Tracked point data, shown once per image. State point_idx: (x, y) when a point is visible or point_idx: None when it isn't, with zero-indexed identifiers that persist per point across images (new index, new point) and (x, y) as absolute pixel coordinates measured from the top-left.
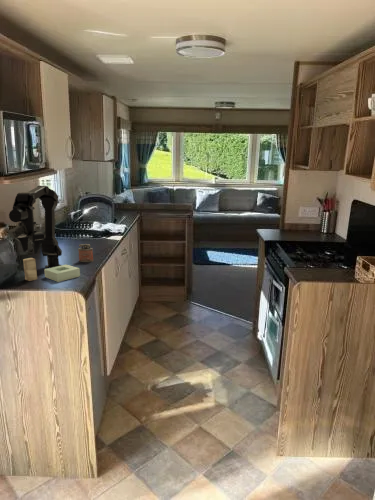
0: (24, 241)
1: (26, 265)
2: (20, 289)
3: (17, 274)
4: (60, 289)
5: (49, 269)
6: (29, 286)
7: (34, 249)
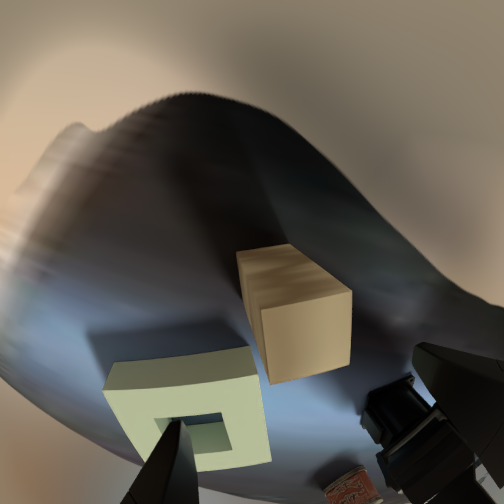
0: (496, 429)
1: (274, 283)
2: (97, 157)
3: (408, 241)
4: (8, 318)
5: (229, 394)
6: (118, 217)
7: (145, 471)
